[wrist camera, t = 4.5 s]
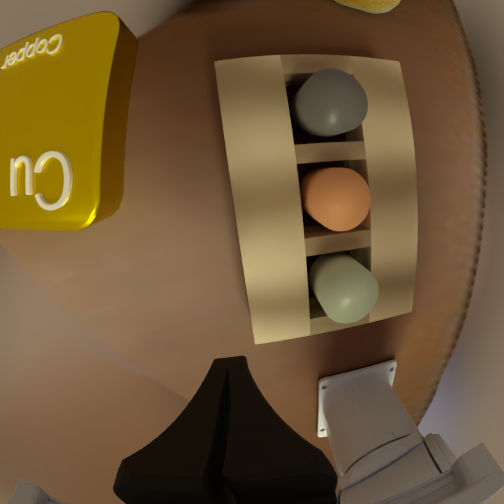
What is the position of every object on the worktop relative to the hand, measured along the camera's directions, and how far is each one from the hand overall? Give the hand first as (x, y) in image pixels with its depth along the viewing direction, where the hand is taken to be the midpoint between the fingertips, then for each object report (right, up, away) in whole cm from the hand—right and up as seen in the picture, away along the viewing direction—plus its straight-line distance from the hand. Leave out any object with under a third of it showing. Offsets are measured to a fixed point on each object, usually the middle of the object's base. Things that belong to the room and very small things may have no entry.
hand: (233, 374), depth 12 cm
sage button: (+6, +4, +8) cm, 11 cm away
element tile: (-15, +15, +5) cm, 22 cm away
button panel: (+6, +9, +7) cm, 13 cm away
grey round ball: (+5, +14, +4) cm, 16 cm away
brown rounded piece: (+6, +9, +7) cm, 13 cm away
